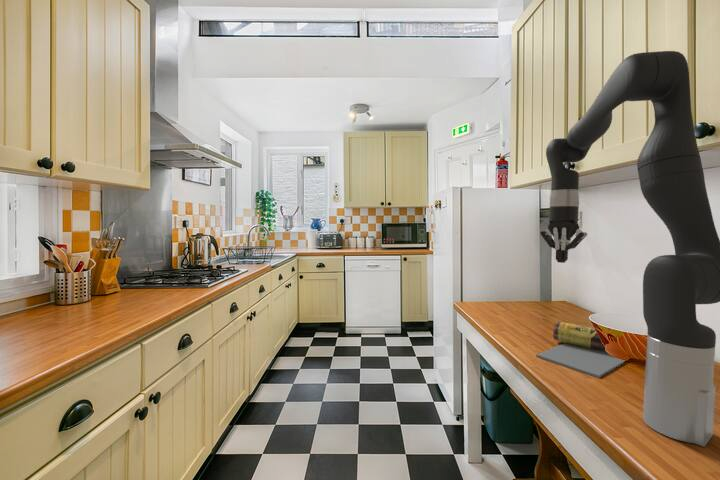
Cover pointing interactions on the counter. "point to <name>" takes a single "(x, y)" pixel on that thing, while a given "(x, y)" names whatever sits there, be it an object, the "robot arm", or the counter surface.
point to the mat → (582, 359)
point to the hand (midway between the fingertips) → (561, 262)
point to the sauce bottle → (577, 335)
